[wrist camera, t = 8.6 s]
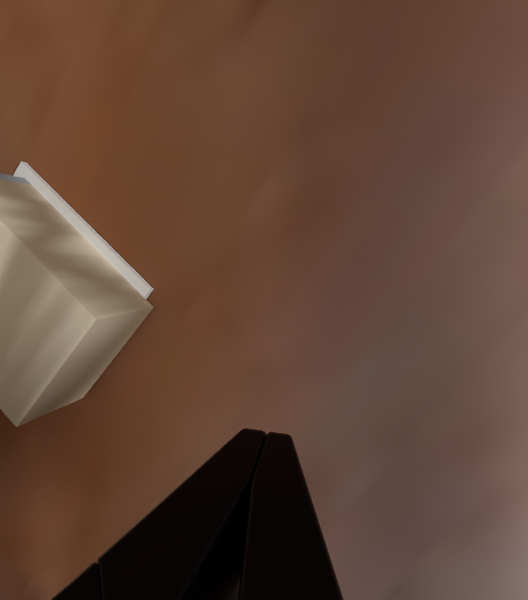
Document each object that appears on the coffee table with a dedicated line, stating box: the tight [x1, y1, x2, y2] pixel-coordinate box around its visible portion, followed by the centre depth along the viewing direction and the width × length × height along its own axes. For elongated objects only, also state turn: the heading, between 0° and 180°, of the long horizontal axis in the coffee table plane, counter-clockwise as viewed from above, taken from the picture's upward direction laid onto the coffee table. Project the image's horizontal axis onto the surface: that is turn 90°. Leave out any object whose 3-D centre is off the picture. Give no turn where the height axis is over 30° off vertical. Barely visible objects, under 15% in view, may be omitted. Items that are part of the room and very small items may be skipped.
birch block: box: [0, 174, 154, 427], centre depth 21 cm, size 4×6×9 cm
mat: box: [13, 162, 154, 299], centre depth 23 cm, size 9×7×1 cm
